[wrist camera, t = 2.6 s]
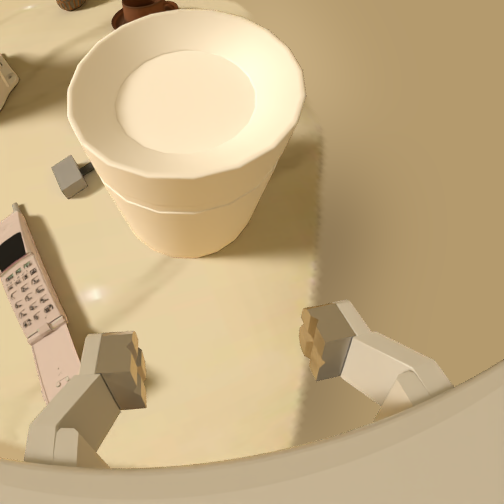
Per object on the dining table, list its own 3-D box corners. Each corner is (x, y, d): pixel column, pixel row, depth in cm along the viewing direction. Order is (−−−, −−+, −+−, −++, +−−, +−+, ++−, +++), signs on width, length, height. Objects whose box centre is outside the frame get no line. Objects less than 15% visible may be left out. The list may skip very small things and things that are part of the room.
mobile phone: (49, 413, 24) (-32, 210, 27) (69, 403, 29) (-9, 226, 32) (93, 388, 26) (3, 183, 28) (108, 380, 31) (23, 202, 34)
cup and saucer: (176, 3, 47) (176, -21, 41) (180, 36, 45) (180, 8, 39) (115, 13, 45) (111, -11, 39) (110, 47, 42) (105, 20, 36)
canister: (106, 244, 34) (27, 161, 15) (143, 127, 38) (121, 4, 19) (243, 270, 36) (295, 206, 17) (263, 148, 40) (310, 30, 21)
